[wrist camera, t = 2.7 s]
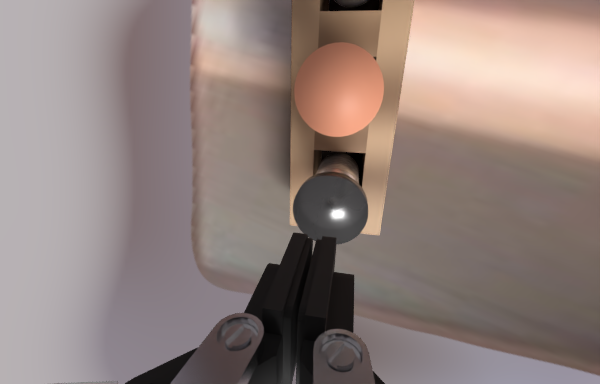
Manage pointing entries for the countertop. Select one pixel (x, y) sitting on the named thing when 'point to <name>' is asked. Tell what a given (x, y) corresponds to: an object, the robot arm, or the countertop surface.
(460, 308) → the countertop surface
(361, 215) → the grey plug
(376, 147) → the socket strip
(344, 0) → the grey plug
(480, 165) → the countertop surface
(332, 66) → the rust plug
